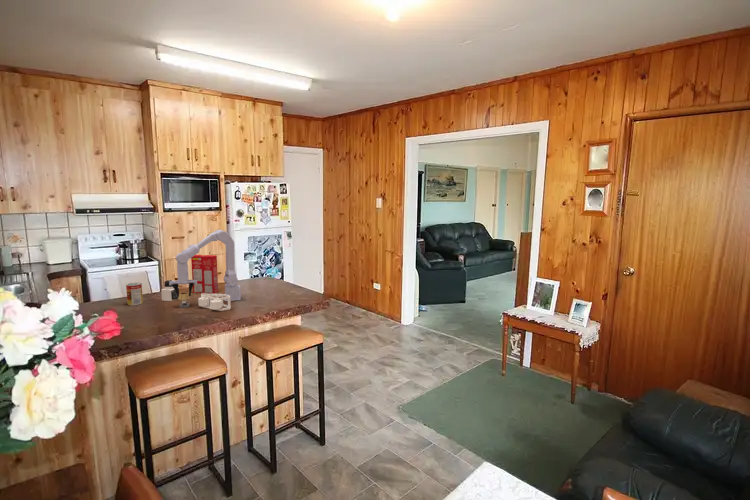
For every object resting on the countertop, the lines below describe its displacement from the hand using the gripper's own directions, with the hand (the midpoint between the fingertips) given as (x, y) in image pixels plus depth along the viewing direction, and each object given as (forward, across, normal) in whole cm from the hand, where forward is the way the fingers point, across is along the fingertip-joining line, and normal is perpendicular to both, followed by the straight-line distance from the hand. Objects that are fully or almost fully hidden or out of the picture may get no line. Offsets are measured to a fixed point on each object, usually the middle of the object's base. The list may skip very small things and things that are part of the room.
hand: (184, 296), depth 235 cm
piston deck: (+6, 0, 0) cm, 6 cm away
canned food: (+6, +28, -14) cm, 32 cm away
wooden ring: (+1, 0, 0) cm, 1 cm away
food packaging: (+6, -10, -30) cm, 32 cm away
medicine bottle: (+6, +9, -18) cm, 21 cm away
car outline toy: (+6, -16, +9) cm, 20 cm away
